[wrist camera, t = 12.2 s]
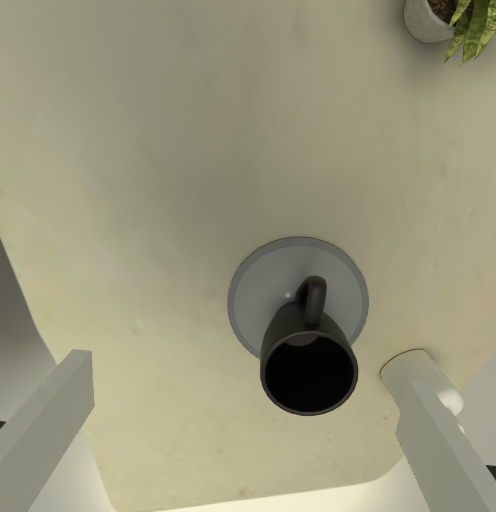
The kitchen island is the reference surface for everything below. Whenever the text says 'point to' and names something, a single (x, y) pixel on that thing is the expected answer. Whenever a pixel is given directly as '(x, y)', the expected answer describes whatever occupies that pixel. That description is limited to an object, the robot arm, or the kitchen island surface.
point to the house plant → (452, 23)
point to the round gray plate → (294, 287)
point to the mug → (307, 355)
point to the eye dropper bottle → (422, 369)
